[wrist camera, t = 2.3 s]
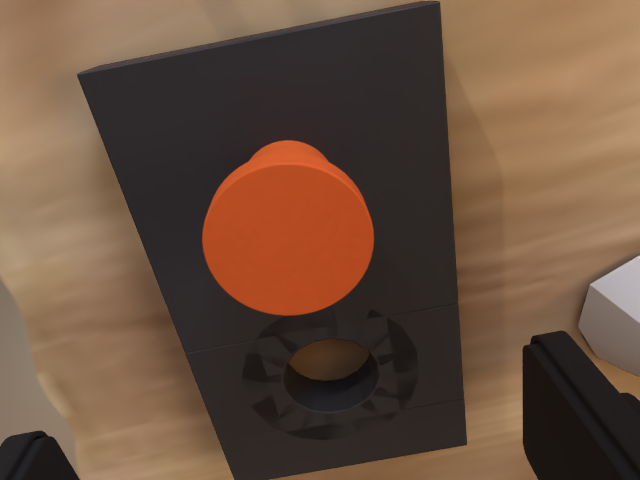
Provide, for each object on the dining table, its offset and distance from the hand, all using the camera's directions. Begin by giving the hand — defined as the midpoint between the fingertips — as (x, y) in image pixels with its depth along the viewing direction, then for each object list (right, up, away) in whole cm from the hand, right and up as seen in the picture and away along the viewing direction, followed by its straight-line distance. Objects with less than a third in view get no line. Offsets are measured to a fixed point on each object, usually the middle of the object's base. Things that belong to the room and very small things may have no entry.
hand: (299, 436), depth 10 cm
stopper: (-1, +6, +11) cm, 13 cm away
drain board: (0, +2, +16) cm, 16 cm away
